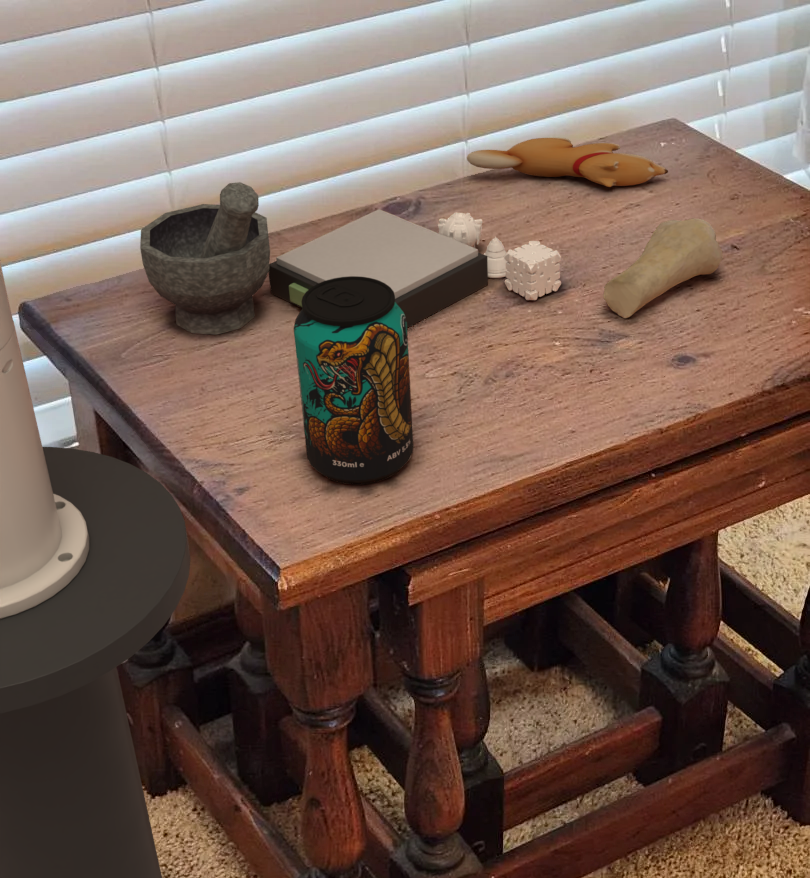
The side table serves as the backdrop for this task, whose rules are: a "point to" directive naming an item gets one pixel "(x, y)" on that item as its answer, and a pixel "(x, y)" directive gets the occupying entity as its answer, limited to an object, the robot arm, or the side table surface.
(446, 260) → the scale
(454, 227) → the game pieces
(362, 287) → the beverage can
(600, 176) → the toy
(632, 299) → the tan bone
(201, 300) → the mortar and pestle
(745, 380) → the side table surface
